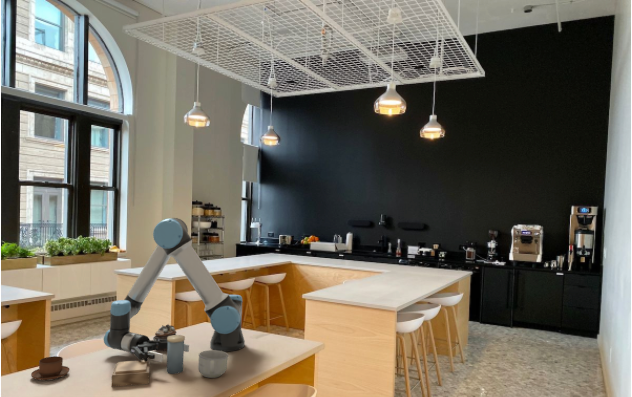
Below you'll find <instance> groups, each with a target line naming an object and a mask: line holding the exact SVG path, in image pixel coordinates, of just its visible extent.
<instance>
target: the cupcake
mask: <svg viewBox="0 0 632 397" xmlns="http://www.w3.org/2000/svg"><path fill="white" fill-rule="evenodd" d="M154 333H155V334H154V337H152V338H153V339H152V340H153V341H156V339H167V337H169V336H172V335H177V331H176V329H175V326H174V325H170V324H169V323H168V324H166V325H161V326H160V328H159V327H158V330H157V331H156V332H154ZM157 348H158V346H157ZM156 351H158V352H167V349H160V350H156Z"/></svg>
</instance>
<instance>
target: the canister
mask: <svg viewBox="0 0 632 397" xmlns="http://www.w3.org/2000/svg"><path fill="white" fill-rule="evenodd" d="M185 338H186V337H185V335H181V334H176V335H172V336H169V337H167V341H168V347H167V351H166V373H168V374H172V375H175V374H177V375H178V374H180V373H183V371H184V357H185V356H184V354H185V351H184V344H185V340H186V339H185Z"/></svg>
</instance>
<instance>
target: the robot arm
mask: <svg viewBox="0 0 632 397" xmlns="http://www.w3.org/2000/svg"><path fill="white" fill-rule="evenodd" d="M152 235H153V240H154V242H155V243H156V247H155V249H154V250H153V252H152V253H151V255H150V256H149V258H148V260H147V262H146V263H145V264H144V266H143V268H142V270H141V271H140V272H139V275H138V276H137V278H136V279H135V281H134V283H133V285H132V287H131V288H130V290H129V292H128V293H127V295H126V296H125V298H124V299H120V300H119V299H118V300H115V301H112V302H111V304H110V310H109V312H110V321H109V322H110V323H109V324H110V325H109V326H110V327H109V329H108V330H107V331H106V332H105V335H104V336H103V343H104V345H105V346H107V348H111V349H112V350H113V349H114V350H117V351H118V350H119V351H123V352H127V353H129V354H131V355H134V356H135V357H136V358H137V360H138V361H140V360H144V361H149V360H150V361H151V360H152V361H155V362H160V363H163V362H164V353H159V352H156V351H157V350H160V349H167V347H168V341H167V339H156V341H154V340H153V339H150V338H149V337H148V336H147V335H145V334H139V333H137V332H130V328H131V320H132V318H133V317H134V316H136V315H137V314H138V313H139V312H140V310H141V308H142V305H143V303H144V301H145V300H146V298H147V297H148V295H149V293H150V291H151V290H152V288H153V287H154V285H155V283H156V282H157V280H158V279H159V277H160V275H161V273H162V271H163V270H164V268H165V267H166V265H167V264H168V262H169V260H170V258H171V257H172V258H173V259H174V260H175V261H176V264H177V265H178V266H179V268H180V269H181V271H182V272H183V274H184V275H185V277H186V278H187V280H188V281H189V283H190V285H191V286H192V287H193V288H194V290H195V292H196V294H197V295H198V296H199V298H200V299H201V300H202V302H203V304H204V306H205V307H204V309H203V310H204V312H205V313H206V315H207V317H208V318H209V320H210V325H211V327H212V329H213V330H214V331H213V334H212V336H211V340H210V345H209V346H210V349H212V350H217V351H223V352H234V351H239V350H242V349H243V348H244V347H245V344H246V343H245V338H244V335H243V330H242V315H243V297H242V296H241V295H239V294H229V293H225V292H223V291H222V289H221V288H220V286H219V285H218V283H217V282H216V281H215V279H214V278H213V276H212V274H211V273H210V271H209V270H208V269H207V266H206V265H205V263H203V261H202V260H201V258H200V256H199V255H198V253H197V251H196V250H195V249H194V247H193V246H192V244H193V239H192V237H191V236H190V234H189V228H188V225H187V224H186V222H185V221H184V220H182V219H181V218H178V217H171V218H170V217H169V218H164V219H162V220H161V221H159V222H158V223H157V224H156V225H155V226H154V229H153V231H152ZM157 346H158V348H157ZM189 351H190V344H189V343H188V344H187V343H184V353H185V352H186V353H189Z"/></svg>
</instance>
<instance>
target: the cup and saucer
mask: <svg viewBox="0 0 632 397" xmlns="http://www.w3.org/2000/svg"><path fill="white" fill-rule="evenodd" d="M63 362H64V358H63V357H62V356H59V355H58V356H57V355H56V356H47V357H44V358H43V357H42V358H41V359H40V360H39V362H38V363H39V364H38V369H35V370H33V371H32V372H31V374H30V376H31V378H33V379H35V380H38V381H51V380H52V381H53V380H55V379H56V380H57V379H59V378H63V377H64V376H66V375H67V374H68V373H69V372H70V367H68V366H66V365H63Z"/></svg>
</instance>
